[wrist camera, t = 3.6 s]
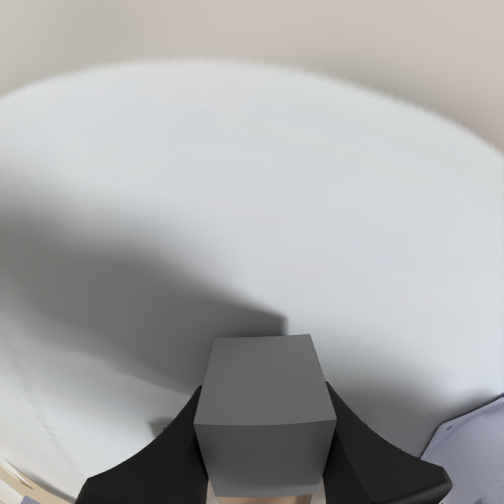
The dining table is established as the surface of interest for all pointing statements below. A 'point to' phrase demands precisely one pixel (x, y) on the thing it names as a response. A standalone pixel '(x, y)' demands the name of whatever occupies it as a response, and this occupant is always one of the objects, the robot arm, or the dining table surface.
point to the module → (264, 417)
